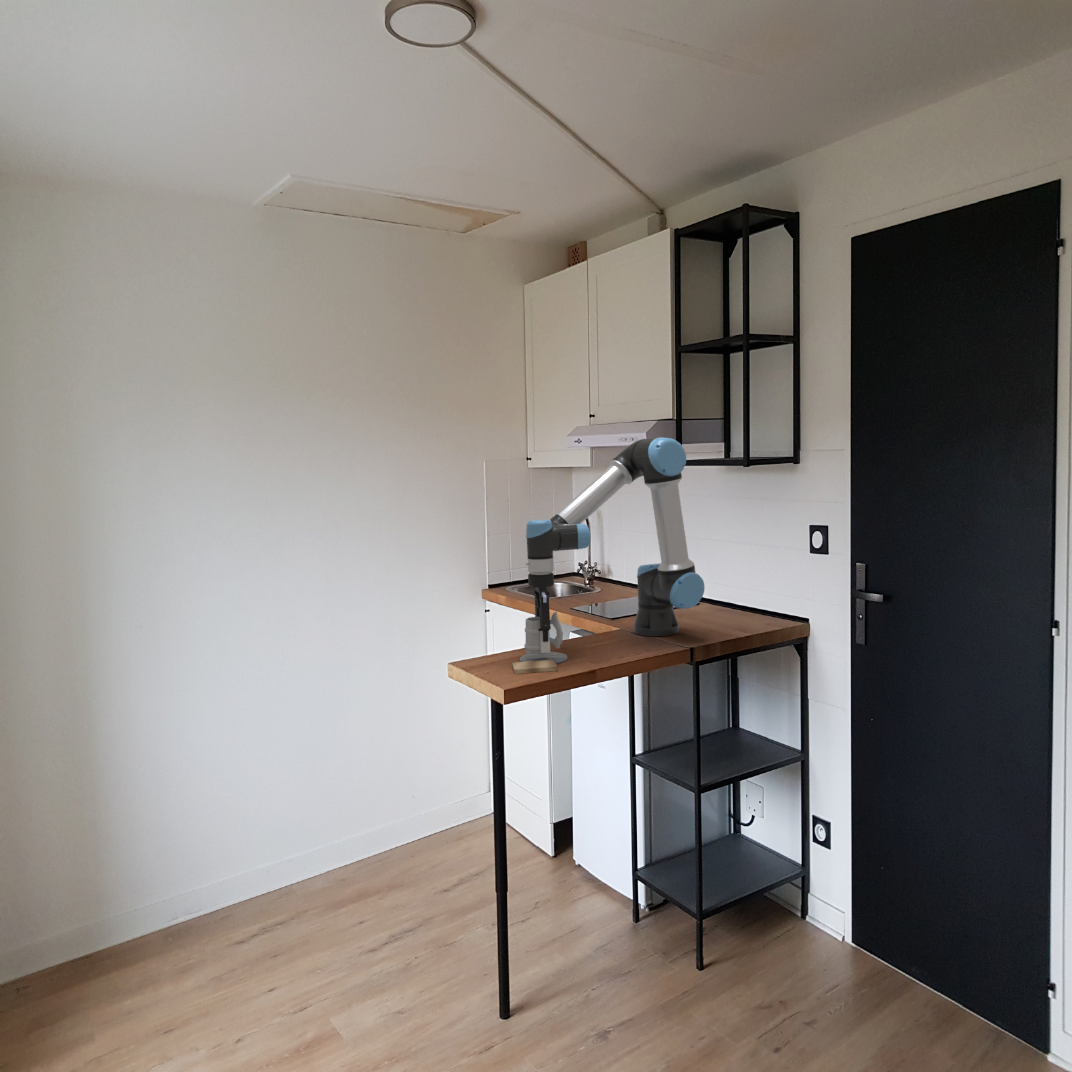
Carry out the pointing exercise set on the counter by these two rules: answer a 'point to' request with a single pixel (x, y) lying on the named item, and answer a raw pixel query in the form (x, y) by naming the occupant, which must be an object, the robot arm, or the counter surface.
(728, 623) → the counter surface
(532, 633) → the mug
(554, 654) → the coaster
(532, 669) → the small board
